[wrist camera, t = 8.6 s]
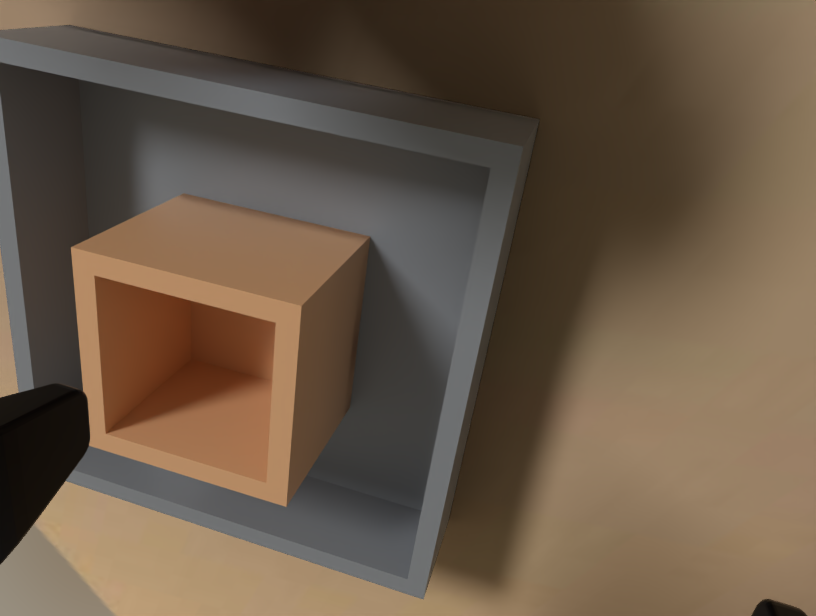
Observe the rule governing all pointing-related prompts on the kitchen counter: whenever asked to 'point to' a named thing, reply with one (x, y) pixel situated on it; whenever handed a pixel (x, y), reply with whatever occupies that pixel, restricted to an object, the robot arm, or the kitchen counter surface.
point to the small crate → (219, 341)
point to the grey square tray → (290, 197)
